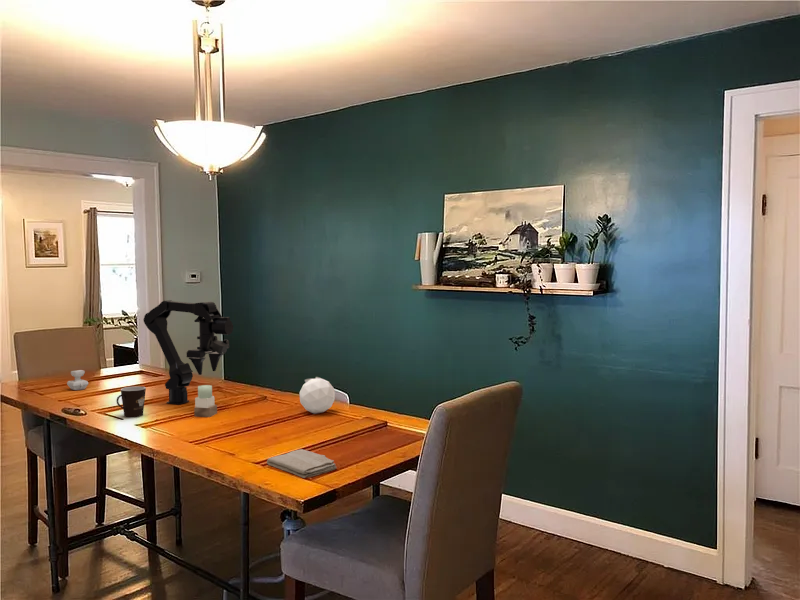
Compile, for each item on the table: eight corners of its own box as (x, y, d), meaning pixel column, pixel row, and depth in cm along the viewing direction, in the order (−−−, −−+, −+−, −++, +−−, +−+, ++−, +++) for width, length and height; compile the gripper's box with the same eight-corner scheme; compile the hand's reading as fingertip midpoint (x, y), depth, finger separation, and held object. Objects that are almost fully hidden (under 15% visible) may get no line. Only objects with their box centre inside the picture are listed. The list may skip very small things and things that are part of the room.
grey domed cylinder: (195, 397, 234) (194, 387, 234) (204, 395, 239) (204, 384, 238) (205, 398, 232) (205, 388, 232) (214, 396, 237) (214, 385, 236)
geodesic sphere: (289, 401, 233) (312, 372, 233) (289, 394, 246) (311, 366, 247) (320, 424, 235) (343, 394, 236) (319, 415, 249) (340, 387, 249)
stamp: (65, 389, 282) (65, 370, 282) (80, 387, 288) (80, 368, 287) (74, 391, 277) (74, 372, 276) (90, 389, 282) (89, 370, 281)
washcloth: (305, 481, 166) (305, 469, 166) (264, 466, 178) (264, 455, 178) (339, 470, 175) (339, 459, 174) (298, 456, 187) (298, 446, 186)
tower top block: (195, 407, 234) (195, 398, 234) (202, 404, 239) (202, 395, 238) (207, 408, 233) (207, 398, 232) (214, 405, 237) (214, 396, 237)
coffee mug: (140, 411, 240) (140, 385, 240) (150, 415, 234) (149, 388, 234) (108, 416, 232) (108, 389, 232) (117, 420, 226) (117, 393, 225)
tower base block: (194, 417, 234) (194, 407, 233) (202, 413, 239) (202, 404, 239) (209, 417, 233) (209, 408, 232) (217, 414, 238) (217, 404, 238)
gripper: (210, 336, 239) (210, 378, 240) (237, 332, 257) (238, 370, 258) (185, 335, 242) (185, 376, 243) (214, 331, 260) (214, 368, 261)
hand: (207, 372), depth 251 cm, fingers open, 9 cm apart
